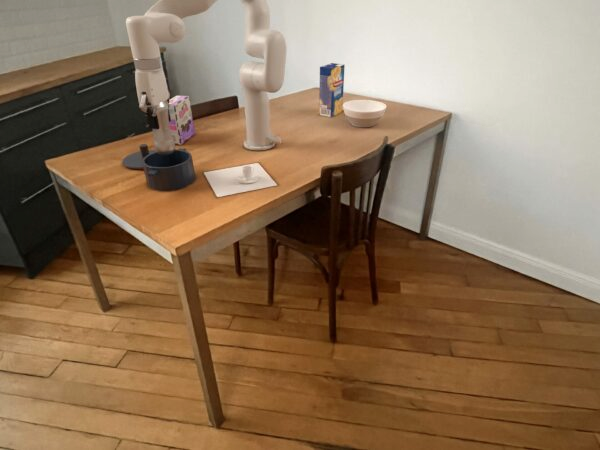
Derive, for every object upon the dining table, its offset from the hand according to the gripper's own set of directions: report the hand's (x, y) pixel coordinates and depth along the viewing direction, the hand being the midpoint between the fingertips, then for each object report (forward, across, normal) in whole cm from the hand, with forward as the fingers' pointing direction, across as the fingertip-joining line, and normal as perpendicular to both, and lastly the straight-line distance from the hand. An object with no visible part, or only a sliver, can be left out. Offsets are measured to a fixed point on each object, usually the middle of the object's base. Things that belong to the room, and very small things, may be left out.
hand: (160, 124), depth 126 cm
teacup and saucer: (+19, -6, +22) cm, 30 cm away
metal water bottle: (+10, 0, 0) cm, 10 cm away
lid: (+19, -13, -17) cm, 28 cm away
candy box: (+19, -37, -15) cm, 44 cm away
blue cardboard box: (+19, -85, +40) cm, 96 cm away
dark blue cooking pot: (+19, 0, 0) cm, 19 cm away
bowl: (+19, -72, +57) cm, 94 cm away
